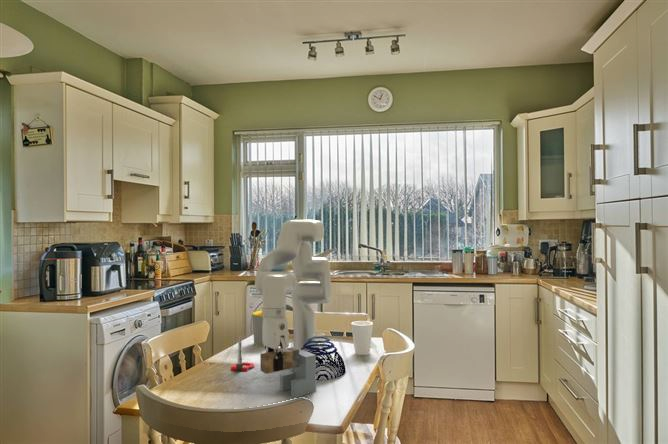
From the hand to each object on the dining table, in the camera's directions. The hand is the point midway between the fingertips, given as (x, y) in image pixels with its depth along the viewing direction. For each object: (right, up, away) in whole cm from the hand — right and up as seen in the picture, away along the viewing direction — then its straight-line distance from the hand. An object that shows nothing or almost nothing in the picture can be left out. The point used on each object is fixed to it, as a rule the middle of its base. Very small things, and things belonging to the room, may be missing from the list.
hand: (274, 368), depth 146 cm
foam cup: (+32, -10, +50) cm, 60 cm away
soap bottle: (-13, -11, +68) cm, 70 cm away
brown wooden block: (+2, -1, +1) cm, 2 cm away
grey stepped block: (+7, -9, +5) cm, 13 cm away
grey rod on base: (-17, -10, +31) cm, 37 cm away
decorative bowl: (+14, -10, +25) cm, 30 cm away
